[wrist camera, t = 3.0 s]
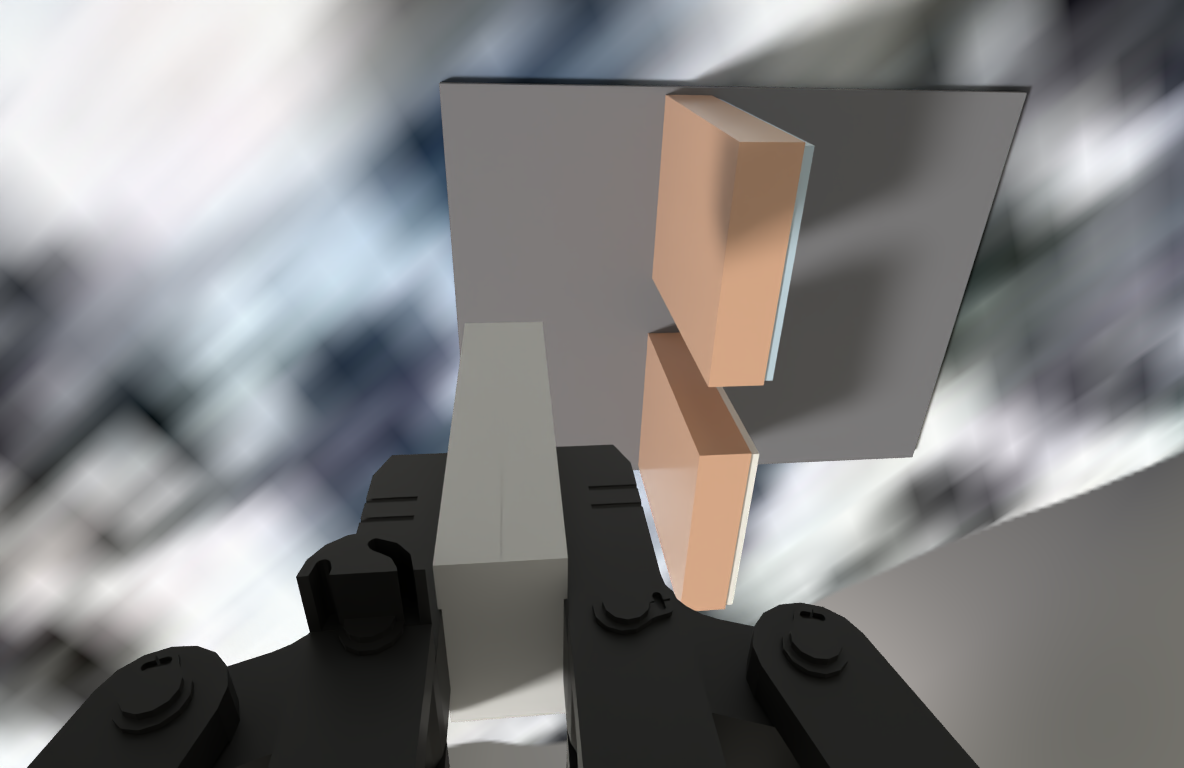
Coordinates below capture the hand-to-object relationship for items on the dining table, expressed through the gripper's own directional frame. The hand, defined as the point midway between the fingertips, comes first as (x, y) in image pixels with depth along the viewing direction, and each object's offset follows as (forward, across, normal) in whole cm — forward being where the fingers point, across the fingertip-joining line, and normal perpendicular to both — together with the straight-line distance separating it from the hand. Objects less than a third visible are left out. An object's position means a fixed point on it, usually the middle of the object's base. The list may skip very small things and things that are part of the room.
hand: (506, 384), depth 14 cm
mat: (+15, +9, -4) cm, 18 cm away
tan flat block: (+14, +7, -9) cm, 18 cm away
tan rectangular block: (+14, +7, 0) cm, 16 cm away
